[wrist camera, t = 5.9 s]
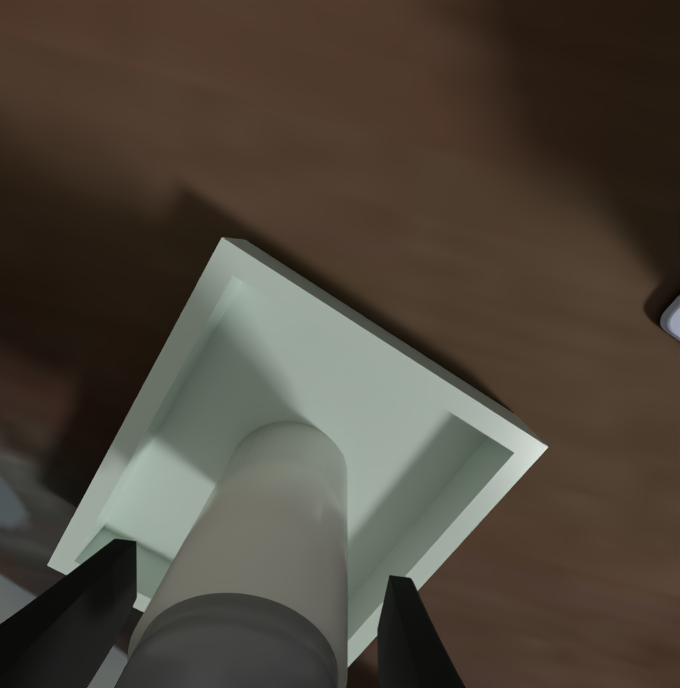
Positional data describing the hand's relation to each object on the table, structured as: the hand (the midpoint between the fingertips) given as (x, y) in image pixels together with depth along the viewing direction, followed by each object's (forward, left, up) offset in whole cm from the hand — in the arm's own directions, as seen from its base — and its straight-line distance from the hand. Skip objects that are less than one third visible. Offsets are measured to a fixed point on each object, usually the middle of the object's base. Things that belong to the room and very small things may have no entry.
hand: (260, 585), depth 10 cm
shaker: (0, 0, -5) cm, 5 cm away
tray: (0, 0, -6) cm, 6 cm away
